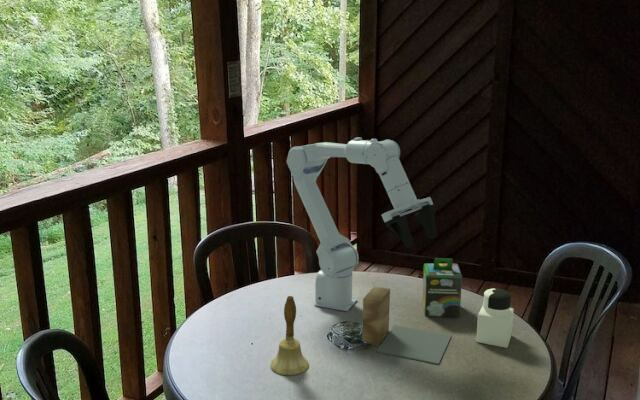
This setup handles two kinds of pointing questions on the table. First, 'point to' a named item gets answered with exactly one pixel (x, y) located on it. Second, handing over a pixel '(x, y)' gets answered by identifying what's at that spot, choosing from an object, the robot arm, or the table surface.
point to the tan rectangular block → (376, 315)
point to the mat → (415, 344)
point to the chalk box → (442, 288)
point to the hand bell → (289, 346)
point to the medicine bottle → (495, 318)
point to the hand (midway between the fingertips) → (422, 242)
